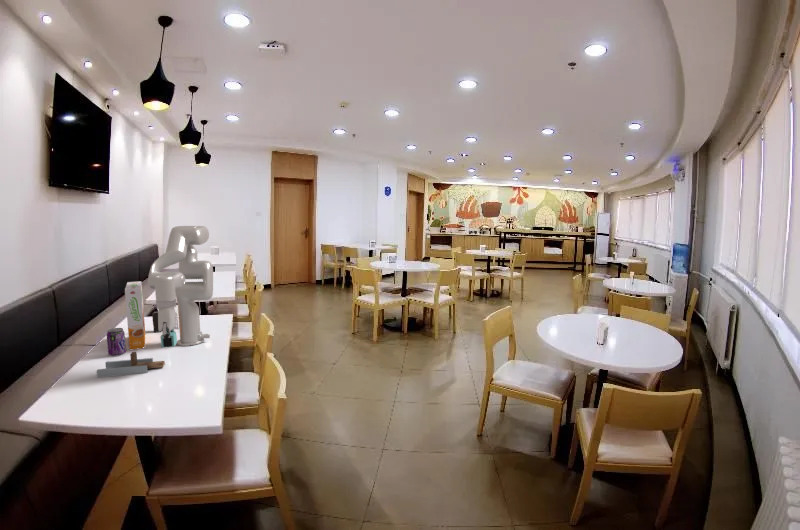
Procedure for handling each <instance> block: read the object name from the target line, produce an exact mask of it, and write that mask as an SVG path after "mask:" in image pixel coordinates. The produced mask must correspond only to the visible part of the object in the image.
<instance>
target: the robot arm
mask: <svg viewBox="0 0 800 530" xmlns="http://www.w3.org/2000/svg"><path fill="white" fill-rule="evenodd" d="M209 237H210V232H209V229H208V228H207V227H206V226H205V225H178V226H174V227H172V228H171V230H170V232H169V236H168V240H167V245H166V250H165V253H163V254H161V255H160V256H158V257H157V259H155V260H154V261H153V262H152V264H151V265H150V269H149V273H148V278H147V284H148V286H149V287H150V288H151V290H152V289H153V290H154V292H155V304H156V309H157V310H158V330H159V332H158V333H161V331H162V330H163V332H162V334H163V345H164V347H163V348H172V347H171V346H172V337H171V332H175V327H176V308H177V312H178V330H179V339H177V343H176V345H178V346H180V347H191V346H195V345H196V344H197V345H200V344H202V343H204V342H205V339H210V337H211V335H210V334H209V333H203V331H201V321H200V320H201V319H200V307H199V306H198V304H197V303H196V302H195V301H209V300H211V299H212V298H213V295H214V268H213V264H212V263H211V261H209V260H198V250H197V249H196V247H195V246H200V245H201V246H202V245H204V244H205V243H207V241H208V240H209ZM175 264H178V271H163V270H164V269H166V268H168V267H170V266H173V265H175ZM186 280H202V281H186ZM168 333H169V334H168ZM162 334H161V335H162ZM190 345H191V346H190Z"/></svg>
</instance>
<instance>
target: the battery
mask: <svg viewBox="0 0 800 530" xmlns="http://www.w3.org/2000/svg"><path fill="white" fill-rule="evenodd" d="M151 316H152V317H151V318H152V326H153V332H154V333H160V332H159V330H158V311H157V310H156V311H154V312H152V315H151ZM162 331H163V330H162Z"/></svg>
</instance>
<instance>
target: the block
mask: <svg viewBox="0 0 800 530" xmlns="http://www.w3.org/2000/svg"><path fill="white" fill-rule="evenodd" d="M168 334H169V333H168ZM171 337H172V346H171V347H170V348H173V347H175V346H176V345H177V341H178V339H177V331H174V332H171ZM160 345H161V346H160V347H161V348H165V347H164V345H163V334H160Z"/></svg>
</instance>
